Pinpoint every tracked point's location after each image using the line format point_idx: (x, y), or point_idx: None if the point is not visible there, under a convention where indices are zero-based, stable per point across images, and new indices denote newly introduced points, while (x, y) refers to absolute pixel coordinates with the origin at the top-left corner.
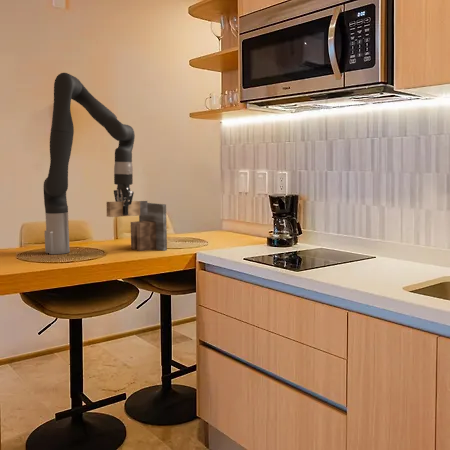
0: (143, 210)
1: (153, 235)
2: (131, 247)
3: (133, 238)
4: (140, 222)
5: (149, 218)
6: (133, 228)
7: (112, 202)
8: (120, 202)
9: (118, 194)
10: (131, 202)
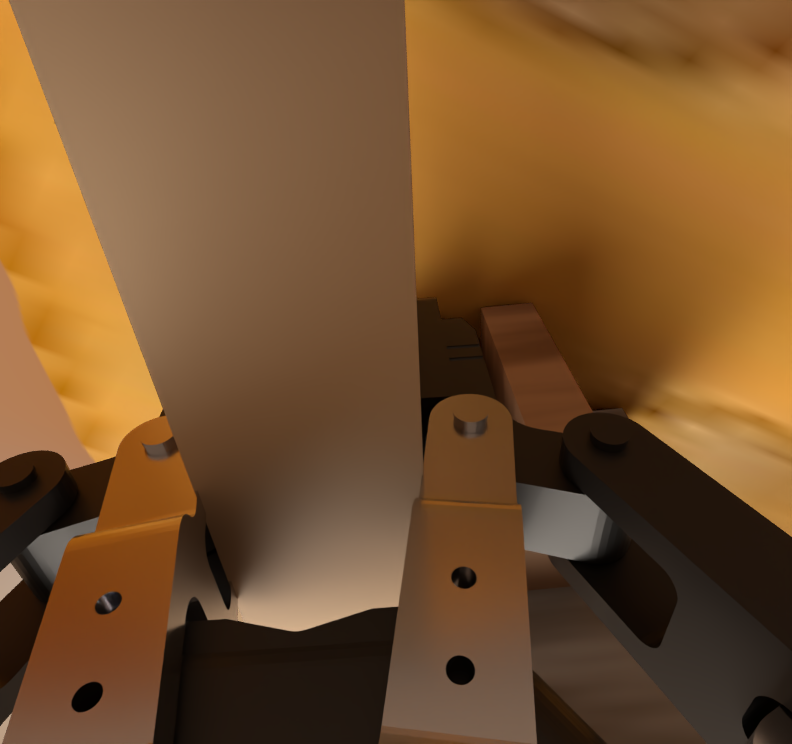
0: None
1: None
2: (529, 308)
3: (511, 354)
4: None
5: (532, 615)
6: (529, 411)
7: (59, 110)
8: (176, 423)
9: (402, 690)
10: (26, 605)
